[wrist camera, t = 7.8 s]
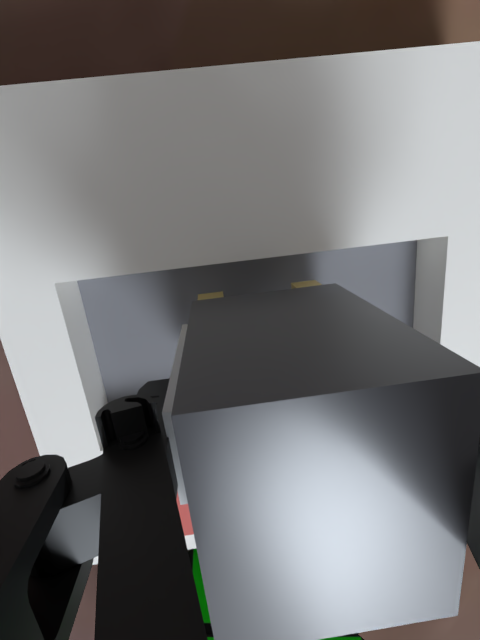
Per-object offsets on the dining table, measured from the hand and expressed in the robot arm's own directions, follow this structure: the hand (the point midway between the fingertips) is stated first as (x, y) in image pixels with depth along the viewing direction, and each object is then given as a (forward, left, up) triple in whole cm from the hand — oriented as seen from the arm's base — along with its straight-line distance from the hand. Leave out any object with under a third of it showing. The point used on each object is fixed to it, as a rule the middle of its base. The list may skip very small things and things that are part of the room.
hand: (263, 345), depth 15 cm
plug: (0, 0, 0) cm, 0 cm away
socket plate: (0, 0, -4) cm, 4 cm away
